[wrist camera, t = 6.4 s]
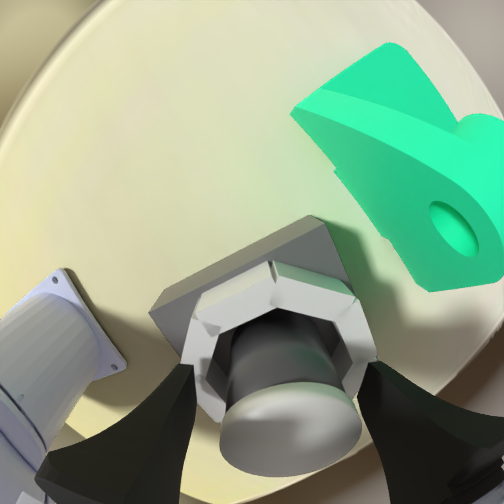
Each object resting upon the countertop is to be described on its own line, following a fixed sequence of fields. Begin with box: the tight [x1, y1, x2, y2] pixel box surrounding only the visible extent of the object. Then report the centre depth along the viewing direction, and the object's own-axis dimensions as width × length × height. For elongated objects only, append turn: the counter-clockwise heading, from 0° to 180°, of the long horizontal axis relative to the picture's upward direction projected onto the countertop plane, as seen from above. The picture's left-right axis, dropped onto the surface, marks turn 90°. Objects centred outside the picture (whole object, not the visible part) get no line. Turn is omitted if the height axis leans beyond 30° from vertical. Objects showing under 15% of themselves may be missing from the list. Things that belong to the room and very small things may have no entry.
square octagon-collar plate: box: [148, 215, 378, 423], centre depth 13 cm, size 9×9×5 cm
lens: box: [220, 308, 362, 477], centre depth 10 cm, size 5×5×6 cm
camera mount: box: [290, 43, 504, 292], centre depth 9 cm, size 12×8×10 cm, turn 42°
